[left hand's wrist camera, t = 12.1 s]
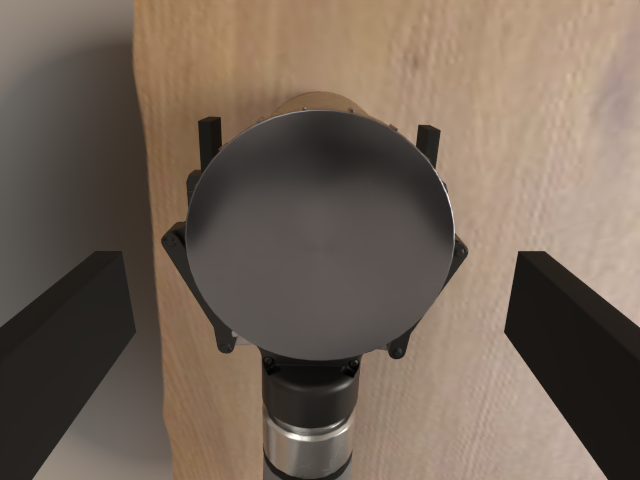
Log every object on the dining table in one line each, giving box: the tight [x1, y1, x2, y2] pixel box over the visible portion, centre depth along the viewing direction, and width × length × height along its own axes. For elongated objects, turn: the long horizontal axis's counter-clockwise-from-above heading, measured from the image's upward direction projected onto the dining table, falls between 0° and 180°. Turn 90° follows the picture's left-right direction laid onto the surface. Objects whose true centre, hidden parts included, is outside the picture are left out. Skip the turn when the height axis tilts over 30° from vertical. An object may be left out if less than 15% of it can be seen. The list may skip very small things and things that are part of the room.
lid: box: [185, 104, 455, 361], centre depth 17 cm, size 10×10×2 cm
